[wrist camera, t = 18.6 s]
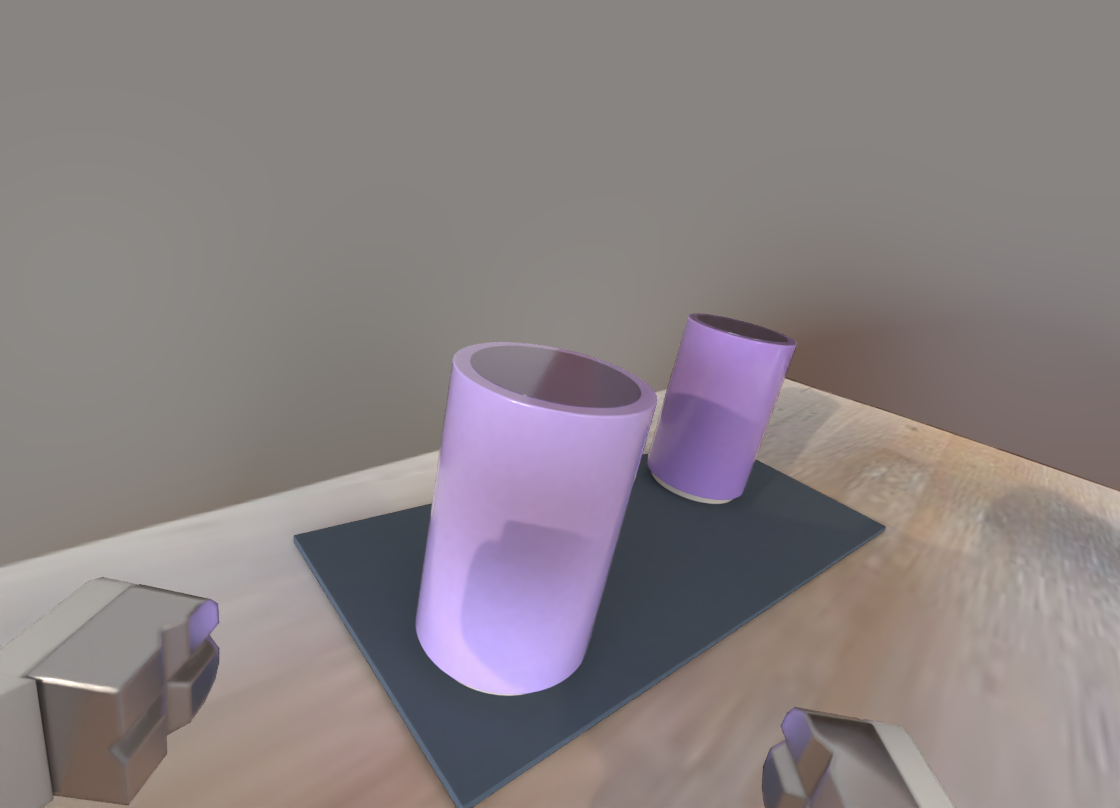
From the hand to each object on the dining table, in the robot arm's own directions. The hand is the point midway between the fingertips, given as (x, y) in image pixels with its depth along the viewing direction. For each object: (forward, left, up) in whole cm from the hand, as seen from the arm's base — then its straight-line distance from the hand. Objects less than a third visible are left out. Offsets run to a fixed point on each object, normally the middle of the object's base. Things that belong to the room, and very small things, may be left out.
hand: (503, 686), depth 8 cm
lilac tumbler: (-7, -7, -8) cm, 13 cm away
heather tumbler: (-25, -12, -8) cm, 29 cm away
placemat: (-18, -9, -9) cm, 22 cm away
